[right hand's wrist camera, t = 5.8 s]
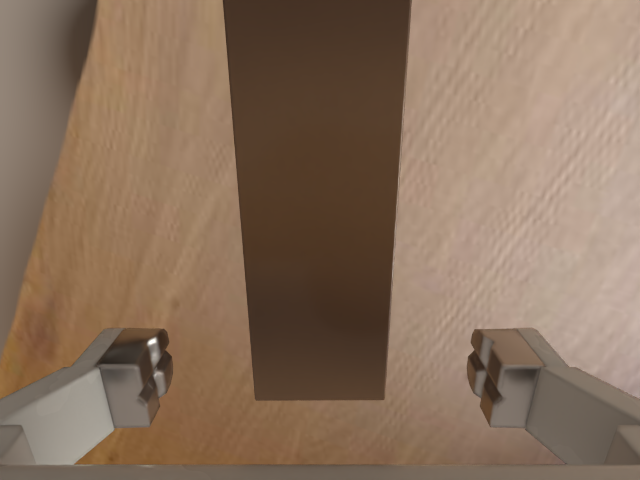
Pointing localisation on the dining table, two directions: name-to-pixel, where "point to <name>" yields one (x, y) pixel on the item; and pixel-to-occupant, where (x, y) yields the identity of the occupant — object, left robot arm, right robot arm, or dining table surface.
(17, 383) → the dining table surface
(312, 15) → the bar
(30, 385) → the right robot arm
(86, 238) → the dining table surface
